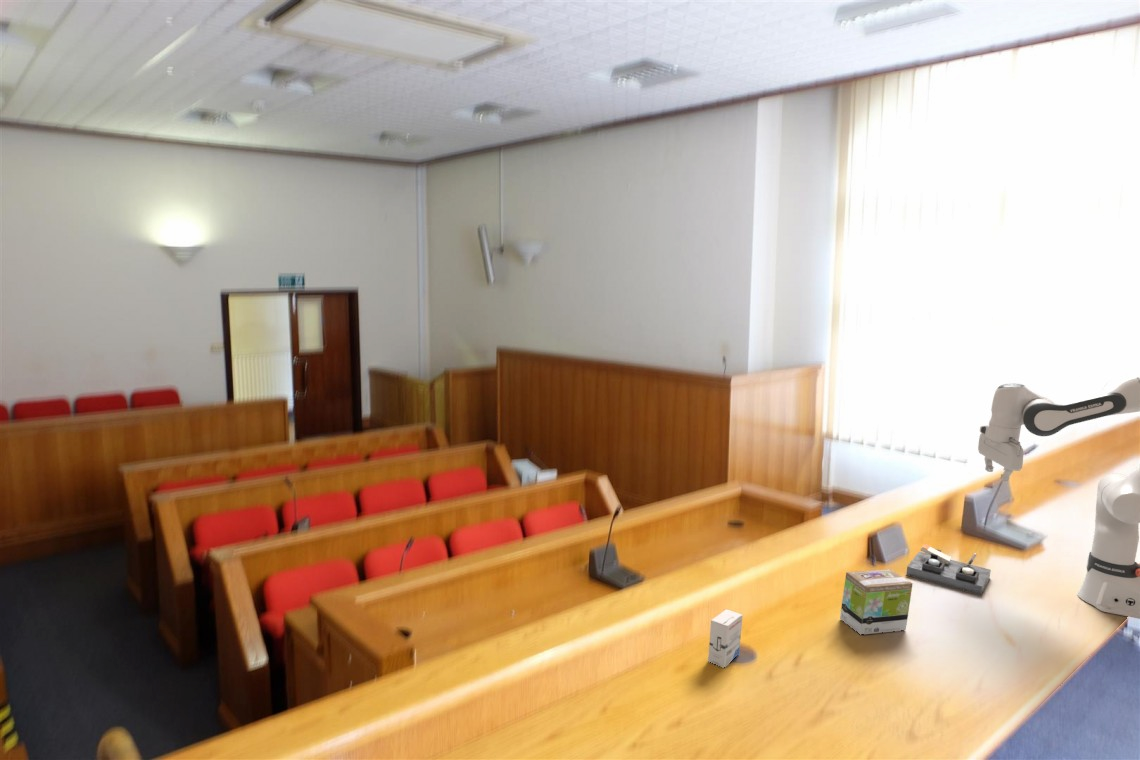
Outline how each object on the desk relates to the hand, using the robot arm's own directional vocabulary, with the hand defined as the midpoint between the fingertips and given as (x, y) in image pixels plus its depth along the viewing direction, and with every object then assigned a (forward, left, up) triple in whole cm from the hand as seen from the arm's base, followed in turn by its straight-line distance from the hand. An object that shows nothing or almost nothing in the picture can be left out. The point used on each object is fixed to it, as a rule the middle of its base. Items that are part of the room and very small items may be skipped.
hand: (996, 475), depth 244 cm
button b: (+13, +11, -30) cm, 35 cm away
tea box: (+19, +57, -35) cm, 70 cm away
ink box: (+44, +101, -35) cm, 116 cm away
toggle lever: (+4, +3, -31) cm, 31 cm away
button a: (+3, +11, -30) cm, 32 cm away
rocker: (+14, +3, -31) cm, 34 cm away
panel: (+9, +7, -35) cm, 37 cm away
